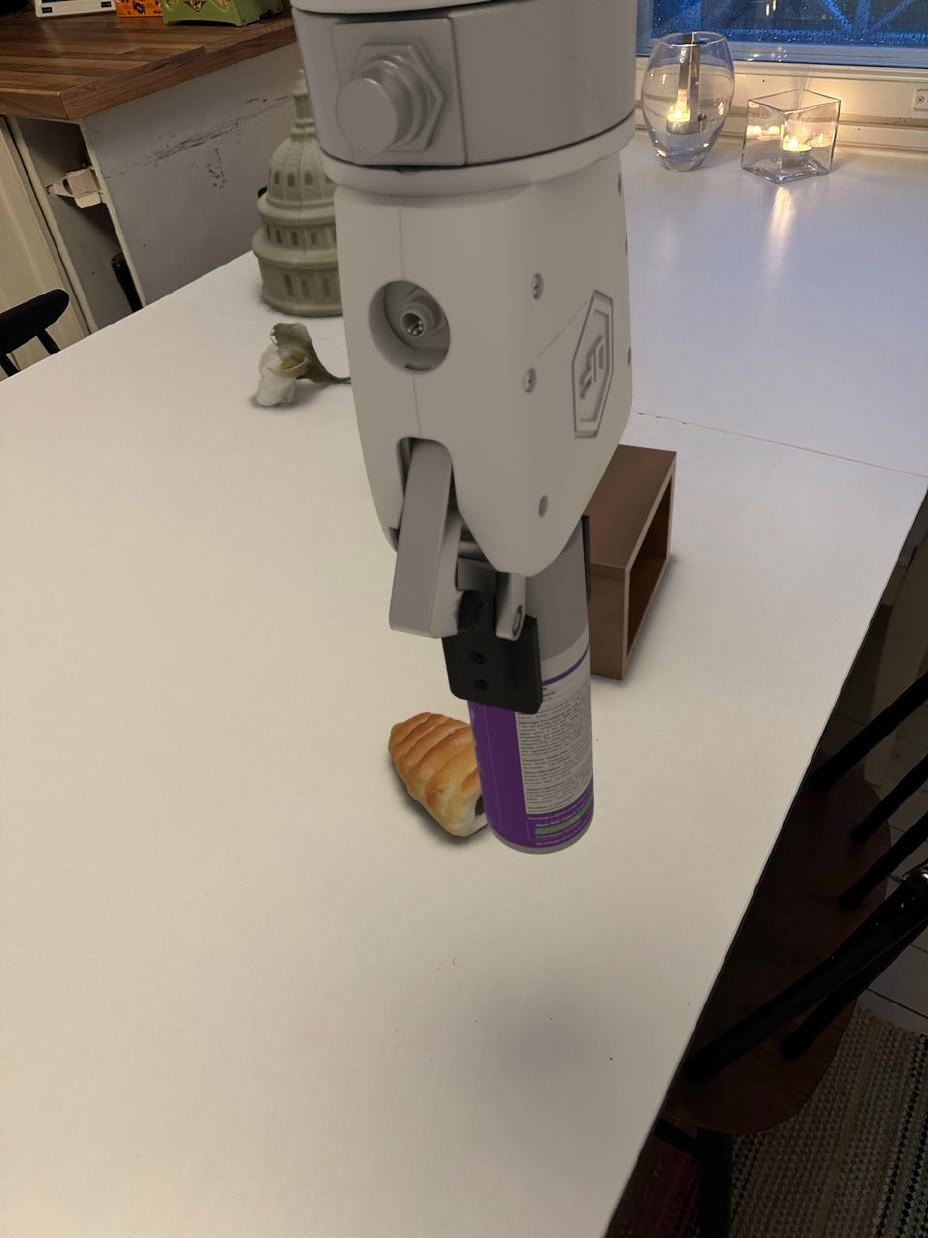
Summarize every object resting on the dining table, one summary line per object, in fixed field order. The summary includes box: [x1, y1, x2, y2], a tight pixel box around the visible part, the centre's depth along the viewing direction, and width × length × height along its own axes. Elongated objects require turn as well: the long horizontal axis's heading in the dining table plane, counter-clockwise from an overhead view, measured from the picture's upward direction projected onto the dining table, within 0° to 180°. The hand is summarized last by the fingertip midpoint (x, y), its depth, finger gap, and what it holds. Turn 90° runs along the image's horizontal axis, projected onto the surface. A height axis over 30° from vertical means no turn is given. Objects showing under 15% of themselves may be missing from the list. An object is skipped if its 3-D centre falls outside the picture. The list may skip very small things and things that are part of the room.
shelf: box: [582, 443, 678, 680], centre depth 68 cm, size 11×14×10 cm
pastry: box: [387, 711, 488, 838], centre depth 58 cm, size 9×7×4 cm
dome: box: [251, 68, 343, 317], centre depth 114 cm, size 20×25×20 cm
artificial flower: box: [255, 322, 351, 407], centre depth 97 cm, size 9×22×10 cm, turn 78°
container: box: [458, 518, 595, 856], centre depth 35 cm, size 5×5×15 cm
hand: (524, 643), depth 33 cm, fingers closed on container, 4 cm apart
